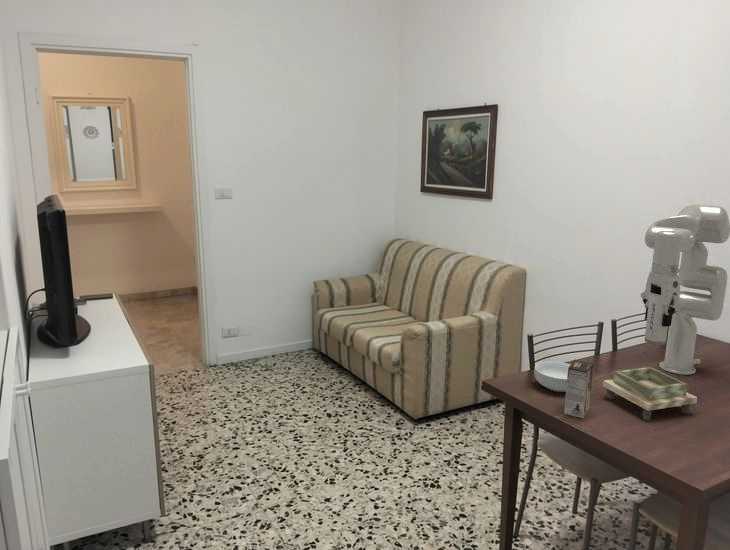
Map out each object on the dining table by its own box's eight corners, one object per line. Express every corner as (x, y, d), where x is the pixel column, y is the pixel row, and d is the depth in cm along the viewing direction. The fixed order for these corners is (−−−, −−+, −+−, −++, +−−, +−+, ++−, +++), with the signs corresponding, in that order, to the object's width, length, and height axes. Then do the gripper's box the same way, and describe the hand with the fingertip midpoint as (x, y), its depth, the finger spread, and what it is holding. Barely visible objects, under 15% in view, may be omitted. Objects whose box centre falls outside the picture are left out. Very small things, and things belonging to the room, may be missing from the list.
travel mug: (660, 339, 186) (667, 280, 182) (669, 345, 180) (676, 285, 175) (641, 338, 187) (647, 280, 182) (648, 344, 180) (655, 284, 176)
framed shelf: (646, 390, 200) (650, 364, 198) (694, 414, 181) (699, 385, 179) (601, 396, 194) (604, 369, 192) (646, 422, 175) (650, 393, 173)
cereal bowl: (548, 399, 191) (550, 380, 190) (524, 380, 207) (525, 362, 206) (592, 395, 195) (594, 376, 194) (565, 377, 211) (566, 359, 209)
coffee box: (569, 403, 188) (574, 358, 185) (589, 408, 185) (594, 362, 181) (563, 414, 180) (567, 367, 177) (583, 419, 177) (589, 371, 174)
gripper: (696, 274, 171) (688, 329, 175) (652, 263, 187) (645, 314, 191) (678, 275, 169) (670, 331, 172) (634, 264, 185) (628, 316, 189)
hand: (657, 322), depth 182 cm, fingers closed on travel mug, 6 cm apart
